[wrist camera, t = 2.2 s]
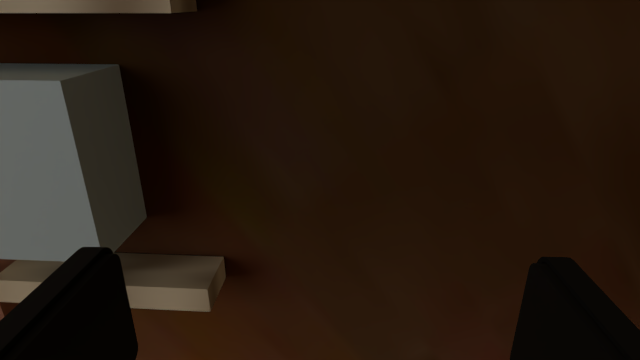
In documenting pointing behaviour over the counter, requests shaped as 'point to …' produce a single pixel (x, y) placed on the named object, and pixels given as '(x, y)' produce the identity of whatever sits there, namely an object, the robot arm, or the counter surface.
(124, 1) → the trap channel
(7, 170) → the gray block
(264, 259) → the counter surface
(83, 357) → the robot arm
